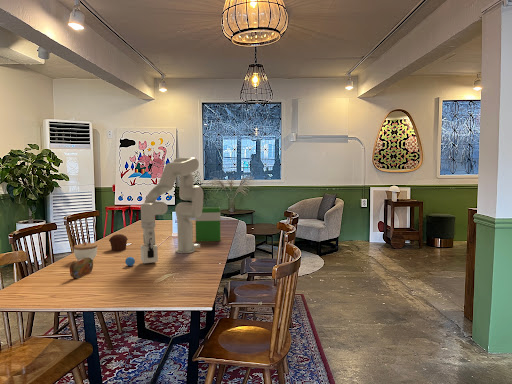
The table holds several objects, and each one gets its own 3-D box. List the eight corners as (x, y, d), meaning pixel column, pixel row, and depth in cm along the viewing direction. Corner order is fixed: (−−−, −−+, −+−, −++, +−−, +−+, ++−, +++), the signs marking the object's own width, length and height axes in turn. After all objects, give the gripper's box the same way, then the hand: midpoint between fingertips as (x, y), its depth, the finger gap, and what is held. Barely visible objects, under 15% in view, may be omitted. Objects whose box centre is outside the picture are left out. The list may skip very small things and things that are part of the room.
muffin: (127, 247, 254) (126, 232, 253) (129, 250, 244) (128, 235, 243) (108, 248, 248) (107, 234, 248) (109, 252, 239) (109, 236, 238)
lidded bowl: (85, 257, 226) (85, 239, 225) (102, 258, 222) (101, 240, 221) (69, 262, 214) (68, 243, 213) (86, 264, 210) (85, 244, 209)
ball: (122, 259, 206) (127, 266, 207) (124, 261, 201) (129, 268, 203) (131, 254, 208) (135, 261, 209) (132, 256, 203) (137, 263, 205)
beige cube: (154, 258, 215) (154, 243, 215) (157, 261, 209) (157, 246, 208) (141, 260, 212) (140, 245, 211) (143, 263, 205) (143, 247, 204)
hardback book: (195, 241, 271) (195, 208, 270) (197, 239, 279) (196, 207, 277) (220, 240, 272) (219, 208, 271) (220, 238, 280) (220, 207, 278)
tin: (74, 280, 180) (73, 263, 179) (68, 280, 181) (67, 263, 180) (93, 271, 195) (93, 255, 194) (88, 271, 195) (87, 255, 195)
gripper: (158, 226, 203) (159, 258, 204) (151, 222, 218) (152, 252, 219) (144, 227, 199) (145, 260, 201) (138, 223, 215) (139, 253, 216)
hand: (149, 255), depth 210 cm, fingers closed on beige cube, 7 cm apart
